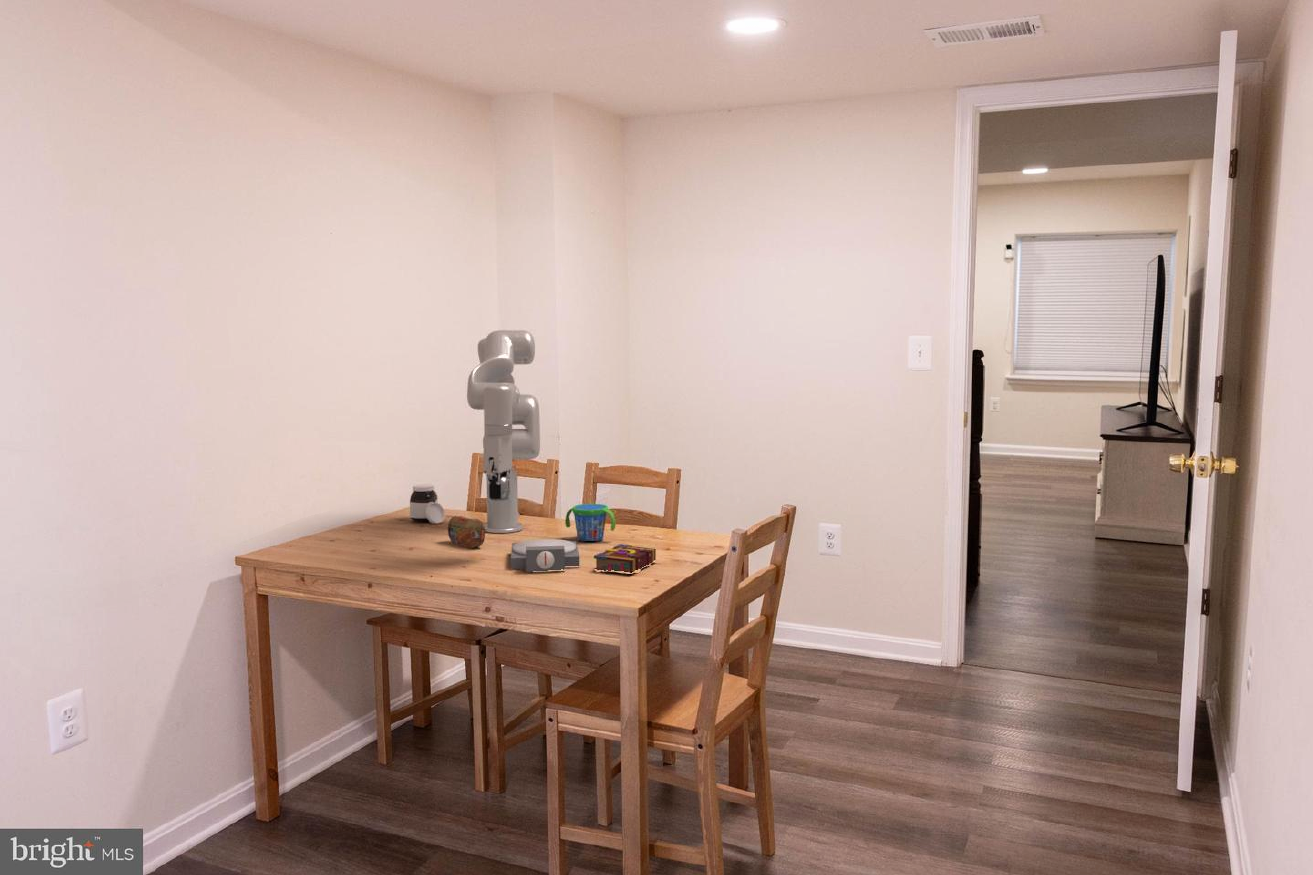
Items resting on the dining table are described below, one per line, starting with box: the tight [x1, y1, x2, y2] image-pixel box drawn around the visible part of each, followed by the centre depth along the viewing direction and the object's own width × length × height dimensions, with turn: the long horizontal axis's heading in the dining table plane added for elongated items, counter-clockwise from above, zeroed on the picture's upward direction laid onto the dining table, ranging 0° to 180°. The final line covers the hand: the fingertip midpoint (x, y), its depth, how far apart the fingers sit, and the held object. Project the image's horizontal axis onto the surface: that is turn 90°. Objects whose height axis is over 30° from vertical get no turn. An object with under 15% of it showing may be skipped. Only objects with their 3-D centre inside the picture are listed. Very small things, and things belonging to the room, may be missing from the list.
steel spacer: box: [490, 476, 509, 501], centre depth 269 cm, size 5×5×6 cm
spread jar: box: [409, 483, 446, 525], centre depth 320 cm, size 12×11×12 cm
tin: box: [447, 515, 486, 549], centre depth 287 cm, size 15×3×8 cm, turn 47°
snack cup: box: [564, 503, 617, 542], centre depth 294 cm, size 16×10×10 cm
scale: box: [510, 538, 580, 572], centre depth 267 cm, size 22×18×6 cm
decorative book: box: [593, 543, 657, 573], centre depth 262 cm, size 11×16×5 cm
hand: (499, 496), depth 269 cm, fingers closed on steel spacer, 5 cm apart
